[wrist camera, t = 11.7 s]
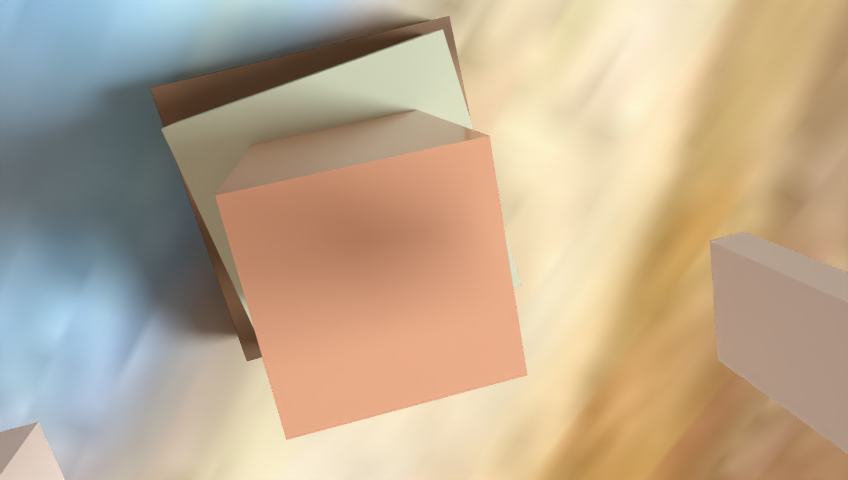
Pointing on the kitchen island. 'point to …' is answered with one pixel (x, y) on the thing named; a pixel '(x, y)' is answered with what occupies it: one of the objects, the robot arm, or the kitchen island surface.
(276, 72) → the walnut block
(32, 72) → the kitchen island surface
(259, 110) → the sage block
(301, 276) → the terracotta block
